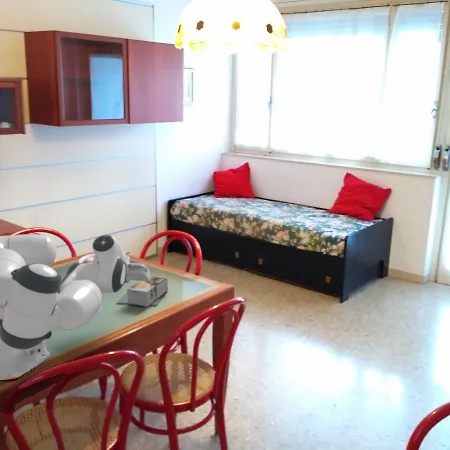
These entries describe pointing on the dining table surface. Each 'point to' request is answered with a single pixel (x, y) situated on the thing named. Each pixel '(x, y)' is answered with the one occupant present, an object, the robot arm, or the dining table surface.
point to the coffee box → (147, 291)
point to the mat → (125, 301)
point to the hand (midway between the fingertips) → (126, 281)
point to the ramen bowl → (91, 258)
